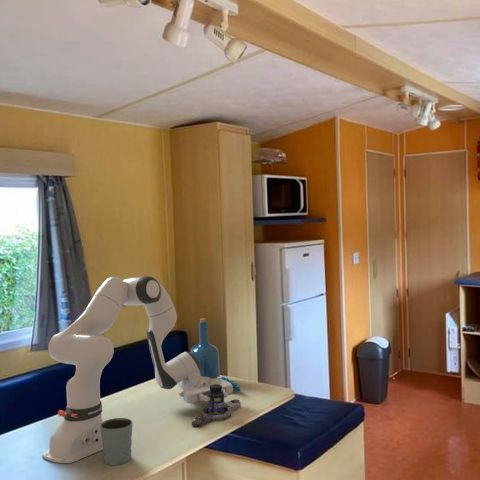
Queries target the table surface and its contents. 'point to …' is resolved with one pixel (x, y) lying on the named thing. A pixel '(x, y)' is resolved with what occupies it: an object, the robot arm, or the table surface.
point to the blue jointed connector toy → (231, 383)
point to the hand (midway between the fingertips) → (217, 397)
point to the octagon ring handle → (210, 418)
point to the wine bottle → (206, 352)
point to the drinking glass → (116, 440)
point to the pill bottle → (216, 399)
